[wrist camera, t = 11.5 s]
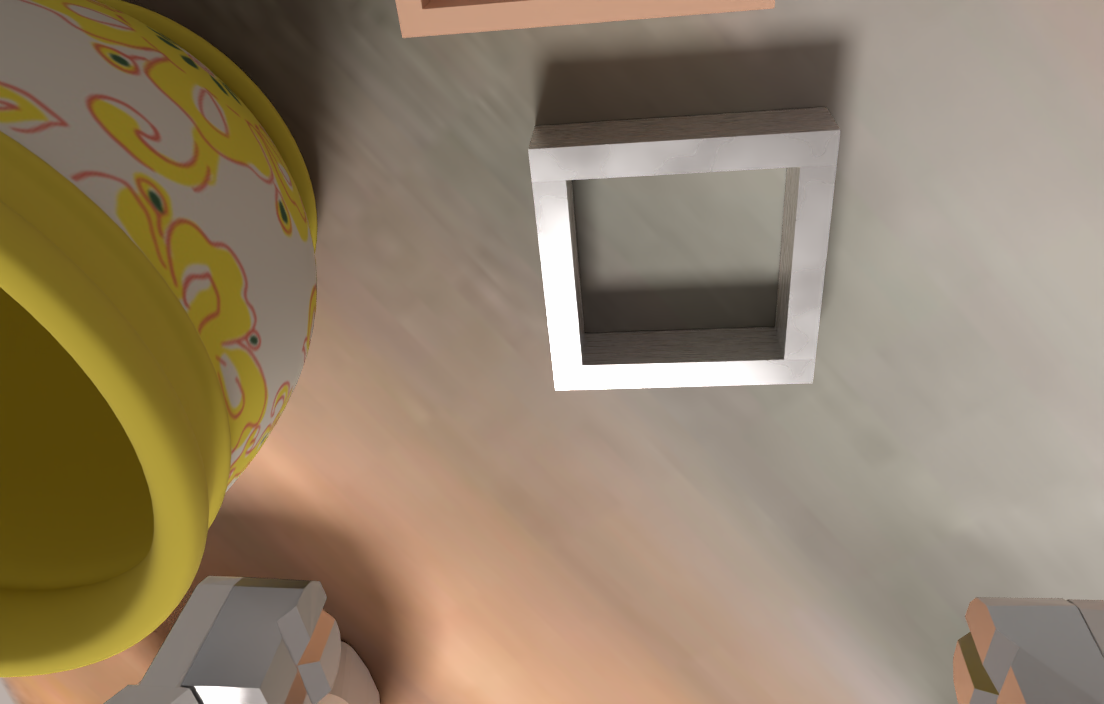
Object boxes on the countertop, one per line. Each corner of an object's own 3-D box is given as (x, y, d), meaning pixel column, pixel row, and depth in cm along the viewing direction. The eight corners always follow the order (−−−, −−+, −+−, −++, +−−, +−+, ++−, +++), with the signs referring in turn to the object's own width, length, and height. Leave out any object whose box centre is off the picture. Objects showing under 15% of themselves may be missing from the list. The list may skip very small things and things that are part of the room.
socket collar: (825, 106, 29) (840, 130, 27) (802, 349, 34) (812, 383, 32) (534, 125, 30) (528, 149, 28) (559, 357, 36) (555, 390, 34)
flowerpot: (-100, -174, 26) (-890, -140, 12) (431, 60, 29) (256, 293, 15) (-76, 274, 36) (-502, 563, 22) (317, 414, 39) (151, 746, 25)
